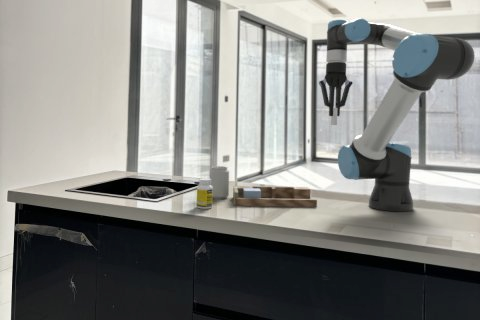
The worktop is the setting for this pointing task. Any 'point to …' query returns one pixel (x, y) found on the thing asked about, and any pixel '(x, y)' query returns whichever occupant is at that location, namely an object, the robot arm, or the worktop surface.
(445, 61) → the robot arm
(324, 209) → the worktop surface
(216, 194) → the can
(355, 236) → the worktop surface
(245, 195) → the block
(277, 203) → the box
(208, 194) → the supplement bottle
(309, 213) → the worktop surface
